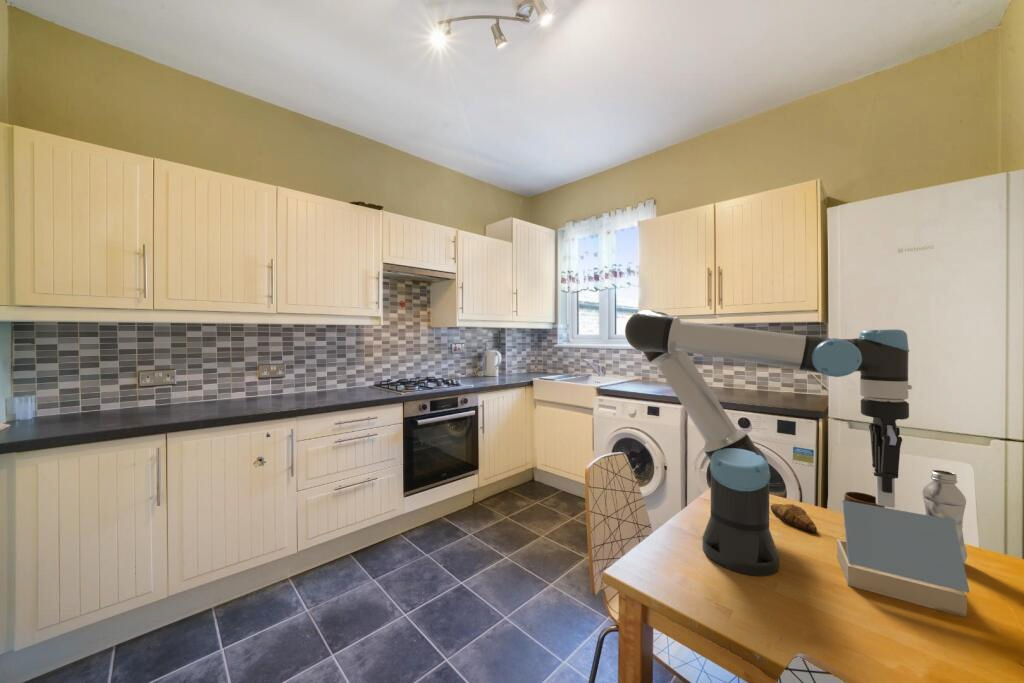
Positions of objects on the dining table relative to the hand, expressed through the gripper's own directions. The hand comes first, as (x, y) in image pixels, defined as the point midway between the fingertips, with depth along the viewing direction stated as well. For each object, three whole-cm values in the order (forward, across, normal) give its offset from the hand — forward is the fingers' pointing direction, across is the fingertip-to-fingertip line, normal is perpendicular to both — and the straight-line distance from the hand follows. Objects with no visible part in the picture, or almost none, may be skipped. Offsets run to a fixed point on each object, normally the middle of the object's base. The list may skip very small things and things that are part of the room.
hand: (885, 505), depth 81 cm
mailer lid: (+4, -10, 0) cm, 11 cm away
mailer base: (+14, -7, 0) cm, 15 cm away
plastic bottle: (+14, +10, -12) cm, 21 cm away
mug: (+14, +14, -1) cm, 20 cm away
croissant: (+14, +14, +16) cm, 25 cm away
